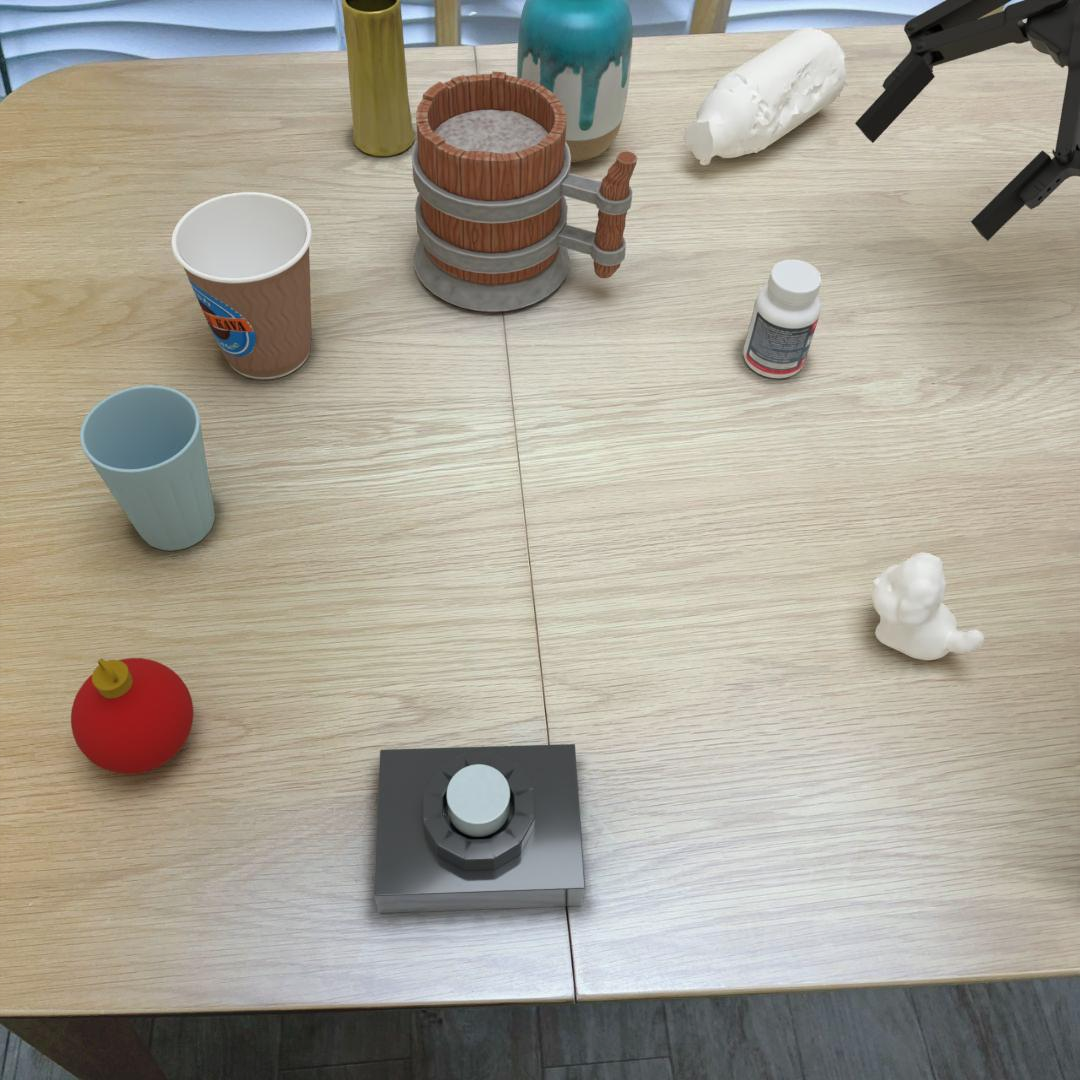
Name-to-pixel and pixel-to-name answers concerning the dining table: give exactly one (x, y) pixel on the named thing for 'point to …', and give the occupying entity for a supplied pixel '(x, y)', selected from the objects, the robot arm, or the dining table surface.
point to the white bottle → (768, 96)
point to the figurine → (919, 611)
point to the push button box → (478, 862)
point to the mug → (505, 194)
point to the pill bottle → (784, 320)
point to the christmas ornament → (131, 715)
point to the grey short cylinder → (478, 800)
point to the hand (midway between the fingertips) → (918, 180)
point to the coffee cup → (251, 278)
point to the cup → (153, 463)
